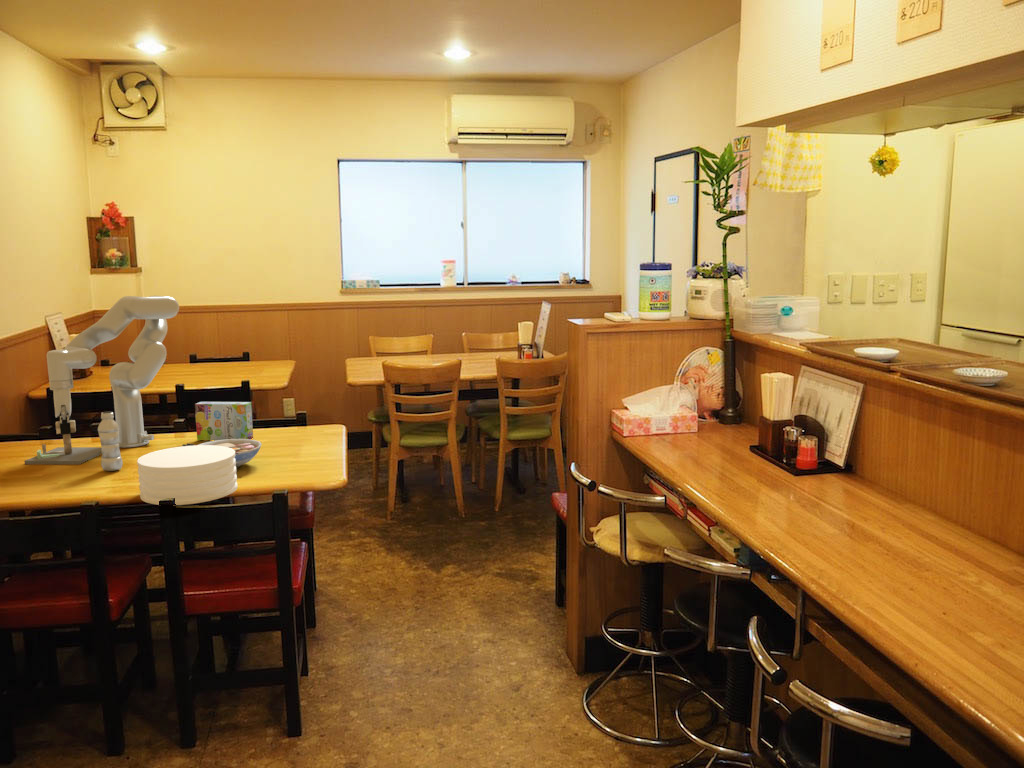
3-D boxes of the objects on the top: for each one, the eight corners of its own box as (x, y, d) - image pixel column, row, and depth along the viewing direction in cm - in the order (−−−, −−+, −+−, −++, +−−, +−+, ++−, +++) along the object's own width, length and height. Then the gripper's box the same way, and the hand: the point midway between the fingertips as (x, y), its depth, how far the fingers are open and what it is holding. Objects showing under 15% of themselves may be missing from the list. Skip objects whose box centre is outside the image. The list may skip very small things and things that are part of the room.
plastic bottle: (115, 473, 281) (109, 414, 277) (97, 472, 282) (91, 414, 279) (127, 468, 287) (122, 411, 284) (110, 467, 288) (104, 410, 285)
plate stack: (137, 487, 265) (134, 451, 263) (229, 475, 278) (227, 441, 276) (144, 511, 241) (140, 472, 239) (244, 496, 253) (242, 459, 251)
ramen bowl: (279, 464, 291) (278, 440, 289) (226, 480, 271) (225, 455, 270) (229, 455, 303) (227, 433, 302) (175, 470, 284) (173, 446, 282)
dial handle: (78, 451, 306) (74, 420, 304) (77, 453, 303) (74, 421, 302) (43, 454, 302) (40, 422, 300) (42, 456, 299) (39, 424, 297)
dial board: (110, 450, 313) (109, 442, 312) (80, 464, 293) (79, 455, 293) (58, 450, 314) (57, 442, 314) (24, 464, 294) (23, 455, 294)
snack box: (254, 439, 329) (251, 401, 326) (247, 442, 323) (245, 404, 321) (203, 438, 332) (200, 400, 329) (196, 441, 326) (193, 403, 324)
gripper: (50, 382, 305) (55, 428, 308) (48, 389, 290) (53, 437, 293) (73, 380, 309) (78, 426, 311) (73, 387, 293) (77, 435, 296)
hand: (66, 431), depth 302 cm, fingers open, 9 cm apart
